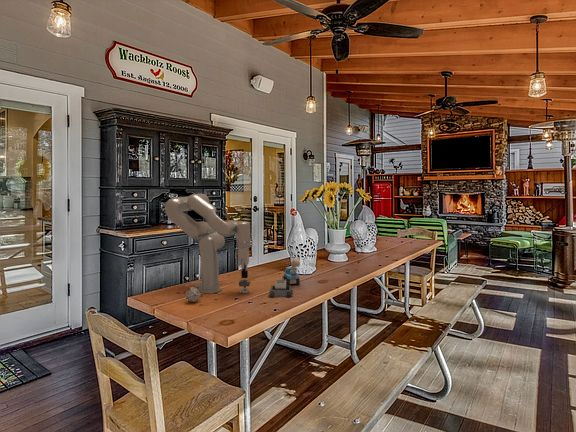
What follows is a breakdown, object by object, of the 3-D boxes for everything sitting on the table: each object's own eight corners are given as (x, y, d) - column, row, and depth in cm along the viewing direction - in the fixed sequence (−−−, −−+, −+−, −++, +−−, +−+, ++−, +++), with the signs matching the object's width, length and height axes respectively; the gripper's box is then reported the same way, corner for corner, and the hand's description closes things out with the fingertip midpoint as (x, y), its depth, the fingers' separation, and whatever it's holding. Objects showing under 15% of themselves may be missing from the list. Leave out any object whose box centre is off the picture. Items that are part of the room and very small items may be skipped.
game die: (191, 308, 193) (187, 290, 198) (206, 302, 193) (202, 284, 197) (183, 304, 185) (179, 286, 190) (198, 298, 185) (195, 280, 189)
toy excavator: (289, 289, 213) (288, 259, 212) (281, 281, 229) (281, 254, 228) (303, 288, 216) (303, 258, 214) (295, 280, 232) (295, 253, 230)
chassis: (268, 297, 198) (267, 291, 198) (269, 290, 211) (269, 284, 211) (292, 297, 198) (292, 291, 198) (292, 290, 211) (292, 284, 211)
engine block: (274, 293, 202) (274, 282, 202) (275, 291, 207) (275, 279, 207) (286, 293, 202) (286, 282, 201) (286, 291, 207) (286, 279, 206)
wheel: (238, 286, 204) (238, 282, 204) (240, 283, 210) (240, 279, 209) (249, 286, 204) (249, 282, 204) (250, 283, 209) (250, 279, 209)
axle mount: (239, 293, 205) (239, 286, 204) (241, 291, 210) (241, 284, 209) (248, 293, 205) (248, 286, 204) (249, 291, 210) (249, 284, 209)
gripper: (238, 242, 210) (239, 274, 212) (234, 247, 195) (235, 281, 197) (252, 242, 210) (253, 274, 212) (248, 246, 195) (249, 281, 197)
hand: (244, 277), depth 204 cm, fingers closed
